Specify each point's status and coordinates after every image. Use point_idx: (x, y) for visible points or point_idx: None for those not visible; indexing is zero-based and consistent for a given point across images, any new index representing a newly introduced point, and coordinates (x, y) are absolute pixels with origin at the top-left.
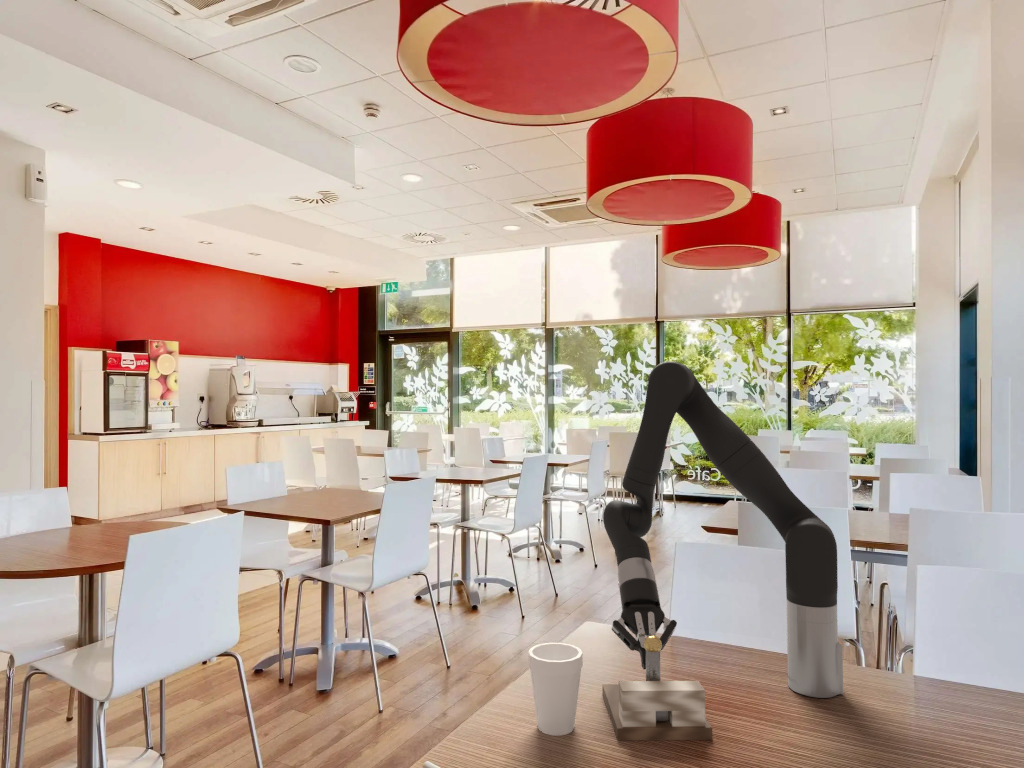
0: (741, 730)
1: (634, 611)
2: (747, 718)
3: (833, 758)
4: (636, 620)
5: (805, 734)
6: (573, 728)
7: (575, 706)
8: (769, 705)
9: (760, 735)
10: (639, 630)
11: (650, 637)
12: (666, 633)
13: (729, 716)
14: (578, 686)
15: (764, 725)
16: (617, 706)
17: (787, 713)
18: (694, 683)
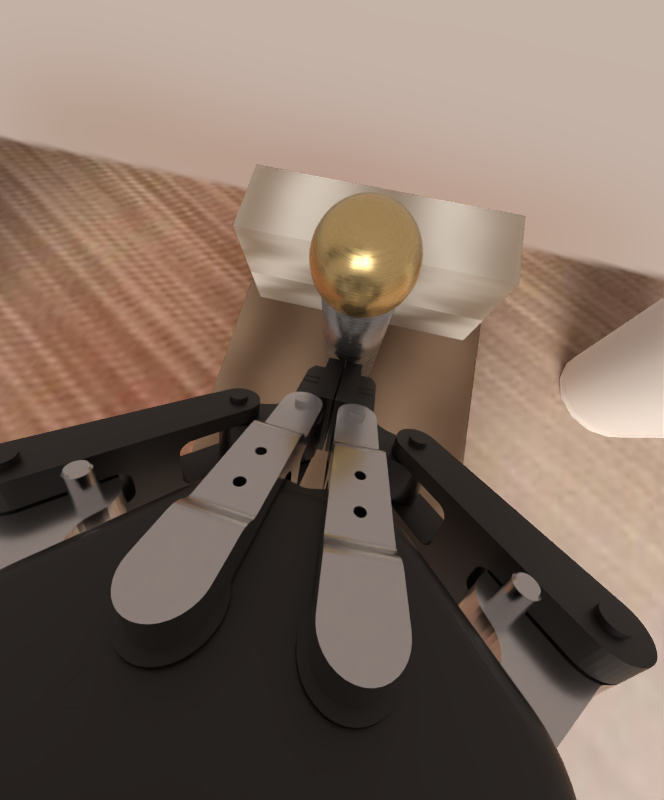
0: (185, 279)
1: (376, 787)
2: (131, 322)
3: (99, 161)
4: (392, 551)
5: (70, 236)
6: (562, 373)
7: (611, 336)
8: (24, 368)
9: (162, 253)
10: (376, 463)
11: (395, 207)
12: (166, 418)
13: (164, 341)
14: (659, 314)
15: (120, 286)
16: (449, 392)
17: (21, 321)
18: (259, 210)
